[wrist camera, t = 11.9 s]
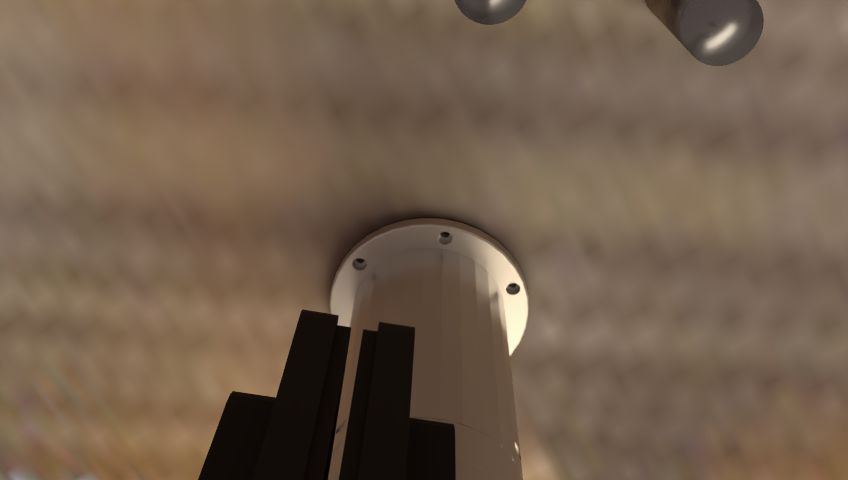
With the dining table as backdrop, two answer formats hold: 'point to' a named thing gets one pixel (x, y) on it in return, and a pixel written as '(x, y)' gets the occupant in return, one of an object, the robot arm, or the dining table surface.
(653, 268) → the dining table surface
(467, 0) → the posts
